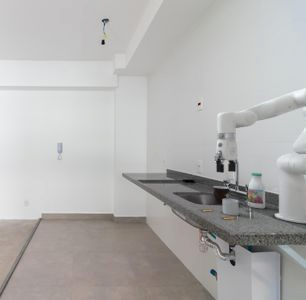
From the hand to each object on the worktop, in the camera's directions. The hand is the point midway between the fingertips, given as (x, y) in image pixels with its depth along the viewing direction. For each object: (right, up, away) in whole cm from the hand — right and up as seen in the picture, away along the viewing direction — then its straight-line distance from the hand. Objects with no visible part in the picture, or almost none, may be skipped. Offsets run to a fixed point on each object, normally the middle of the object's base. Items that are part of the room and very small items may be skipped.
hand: (226, 171), depth 102 cm
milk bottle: (+31, -23, +19) cm, 43 cm away
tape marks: (-1, -23, +5) cm, 23 cm away
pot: (+7, -23, +7) cm, 24 cm away
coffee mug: (+15, -23, +28) cm, 39 cm away
